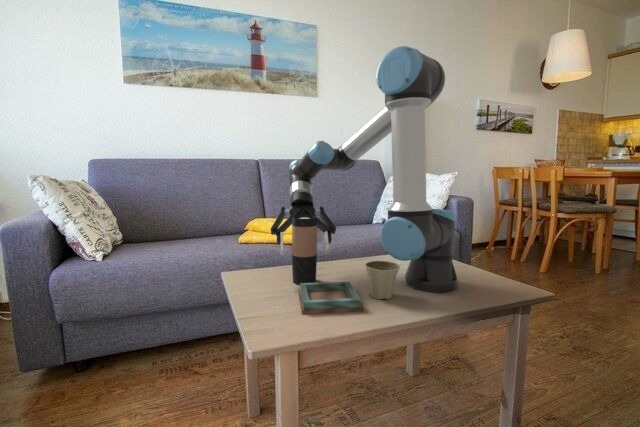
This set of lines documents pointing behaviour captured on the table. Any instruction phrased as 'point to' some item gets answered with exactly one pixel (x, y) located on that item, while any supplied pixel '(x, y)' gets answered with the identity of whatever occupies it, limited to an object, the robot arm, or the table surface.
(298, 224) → the travel mug
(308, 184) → the robot arm
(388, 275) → the flower pot
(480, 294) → the table surface
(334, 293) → the coaster dock
